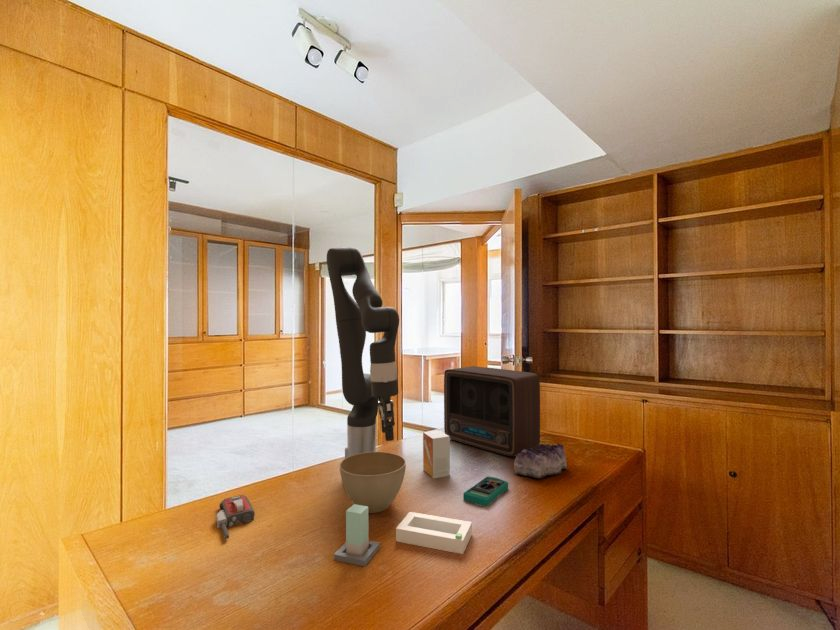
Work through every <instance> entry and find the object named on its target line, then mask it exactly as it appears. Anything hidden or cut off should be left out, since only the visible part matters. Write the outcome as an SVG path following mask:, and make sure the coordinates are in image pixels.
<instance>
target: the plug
mask: <svg viewBox="0 0 840 630" xmlns="http://www.w3.org/2000/svg"><path fill="white" fill-rule="evenodd" d="M369 539H370V538H369V513H368V506H362V505H356V504H354V503H353V504H352V505H351V506H350V507H349V508H347V510H345V540H346V541H345V543H346V553H347V554H352V555H356V556H361V557H363V555H364V554H365V553H366V552H367V551H368V550H369V541H370V540H369Z"/></svg>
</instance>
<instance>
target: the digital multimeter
mask: <svg viewBox="0 0 840 630" xmlns="http://www.w3.org/2000/svg"><path fill="white" fill-rule="evenodd" d="M508 490H509V482H508V481H506V480H505V479H501V478H498V477H493V476H485V477H484V478H483V479H482V480H480V481H478V482H477V483H476V484H475V485H474V486H472V487H470V488H469V489H467V490H466V491H464V492H463V497H462V498H463V501H464V502H468V503H470V504H472V505H473V504H474V505H477V506H482V507H487V508H488V507H489V506H490V505H491V504H492V503H493V502H494V501H495V500H496V499H497V498H498V497H499V496H501V495H502V494H503V493H505V492H506V491H508Z"/></svg>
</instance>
